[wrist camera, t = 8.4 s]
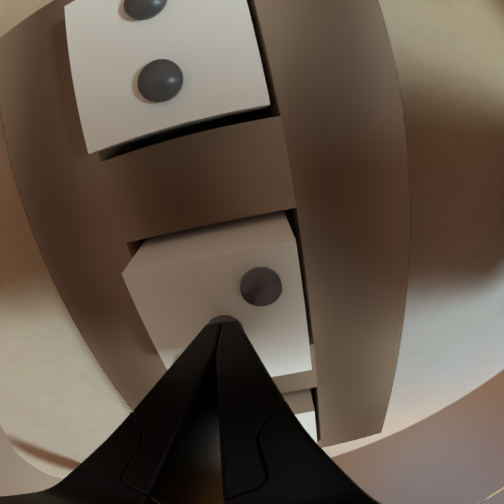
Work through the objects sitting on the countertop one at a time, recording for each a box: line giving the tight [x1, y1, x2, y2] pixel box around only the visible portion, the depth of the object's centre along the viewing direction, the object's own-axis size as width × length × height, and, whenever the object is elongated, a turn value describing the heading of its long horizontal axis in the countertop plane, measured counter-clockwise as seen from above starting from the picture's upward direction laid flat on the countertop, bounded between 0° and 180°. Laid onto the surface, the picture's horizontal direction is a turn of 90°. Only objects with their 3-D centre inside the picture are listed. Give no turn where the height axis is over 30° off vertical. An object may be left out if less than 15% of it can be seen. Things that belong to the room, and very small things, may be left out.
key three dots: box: [122, 210, 312, 377], centre depth 9 cm, size 4×4×4 cm
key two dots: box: [64, 0, 270, 154], centre depth 7 cm, size 4×4×4 cm
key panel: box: [0, 0, 410, 448], centre depth 10 cm, size 12×22×2 cm, turn 11°
